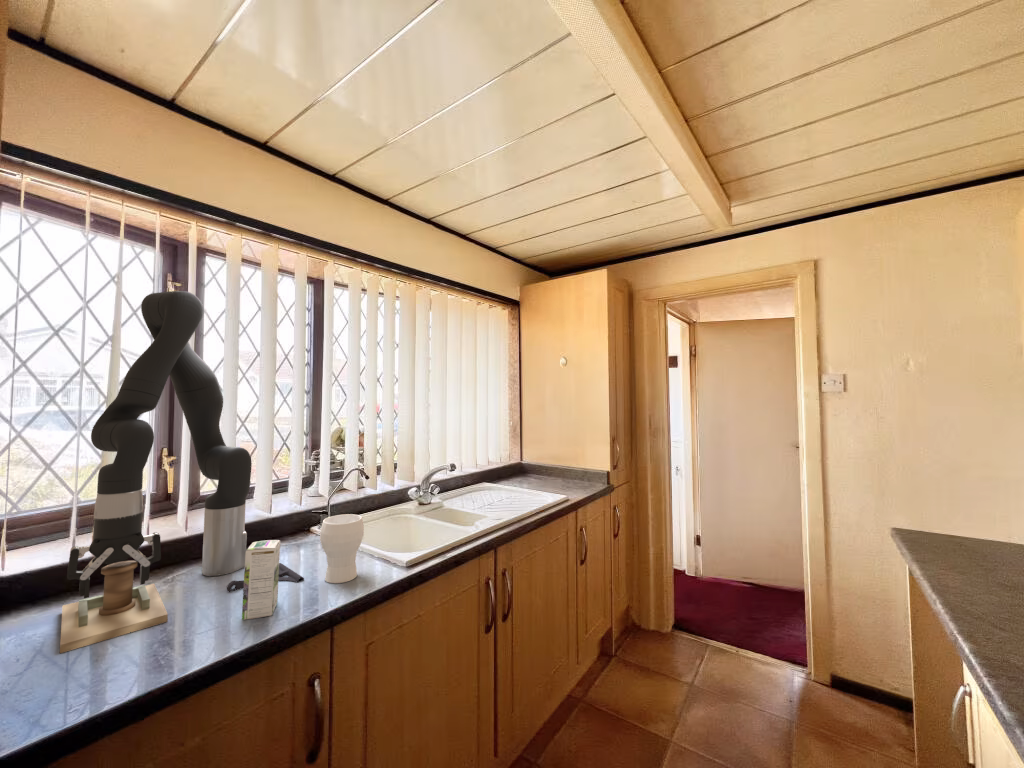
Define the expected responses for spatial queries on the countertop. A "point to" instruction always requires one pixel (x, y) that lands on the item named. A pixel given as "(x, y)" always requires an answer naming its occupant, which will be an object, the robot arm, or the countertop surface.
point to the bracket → (282, 572)
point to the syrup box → (261, 579)
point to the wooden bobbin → (118, 588)
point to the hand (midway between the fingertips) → (115, 589)
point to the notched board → (109, 618)
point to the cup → (341, 546)
